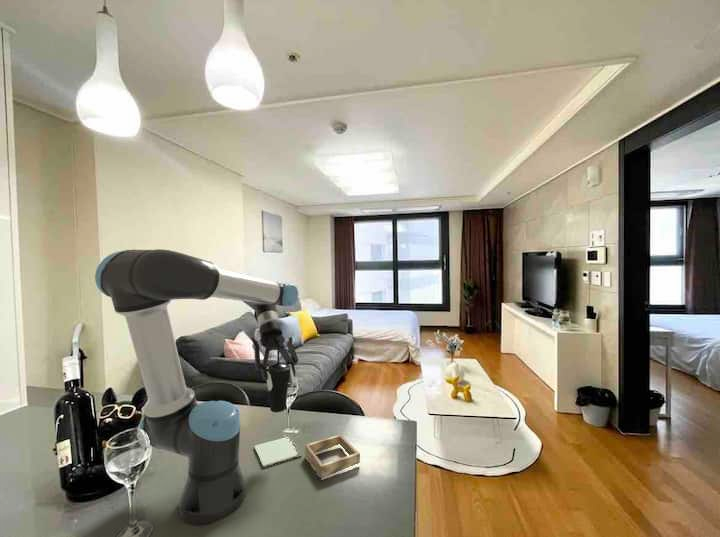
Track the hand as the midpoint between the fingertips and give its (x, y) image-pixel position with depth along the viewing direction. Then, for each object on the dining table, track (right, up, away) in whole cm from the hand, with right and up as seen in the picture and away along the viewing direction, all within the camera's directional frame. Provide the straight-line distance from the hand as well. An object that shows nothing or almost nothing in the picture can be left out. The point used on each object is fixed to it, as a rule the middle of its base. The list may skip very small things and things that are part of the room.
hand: (281, 386), depth 97 cm
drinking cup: (-2, -9, +3) cm, 9 cm away
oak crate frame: (+16, -23, -2) cm, 28 cm away
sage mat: (-2, -22, +3) cm, 23 cm away
